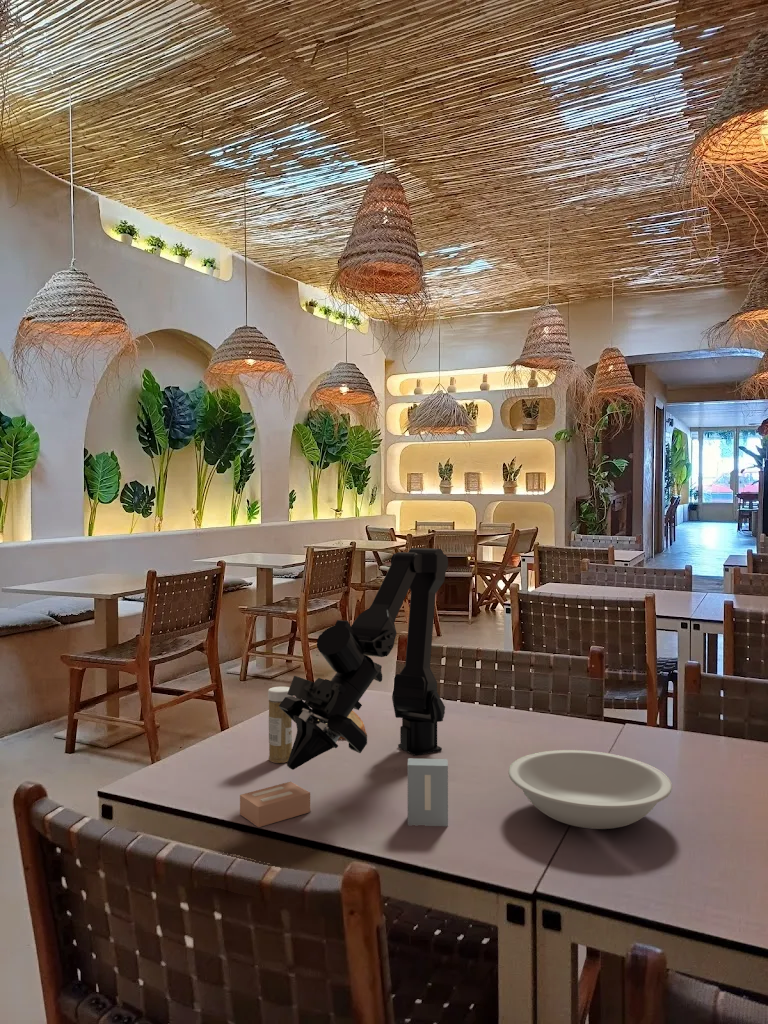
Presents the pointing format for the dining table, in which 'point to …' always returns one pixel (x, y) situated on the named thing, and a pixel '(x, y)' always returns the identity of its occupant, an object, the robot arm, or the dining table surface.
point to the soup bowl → (590, 787)
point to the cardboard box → (274, 804)
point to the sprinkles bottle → (279, 726)
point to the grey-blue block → (428, 792)
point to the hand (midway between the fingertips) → (289, 767)
